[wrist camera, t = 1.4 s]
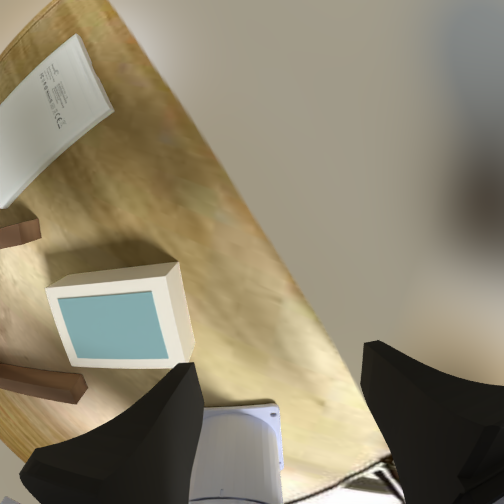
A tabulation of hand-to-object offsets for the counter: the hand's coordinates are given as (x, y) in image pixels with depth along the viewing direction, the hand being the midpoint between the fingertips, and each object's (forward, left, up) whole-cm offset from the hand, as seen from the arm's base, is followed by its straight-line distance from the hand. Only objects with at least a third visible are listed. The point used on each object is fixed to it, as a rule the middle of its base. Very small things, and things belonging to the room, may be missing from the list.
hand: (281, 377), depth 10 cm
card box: (0, +10, -10) cm, 14 cm away
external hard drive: (+15, +16, -10) cm, 24 cm away
